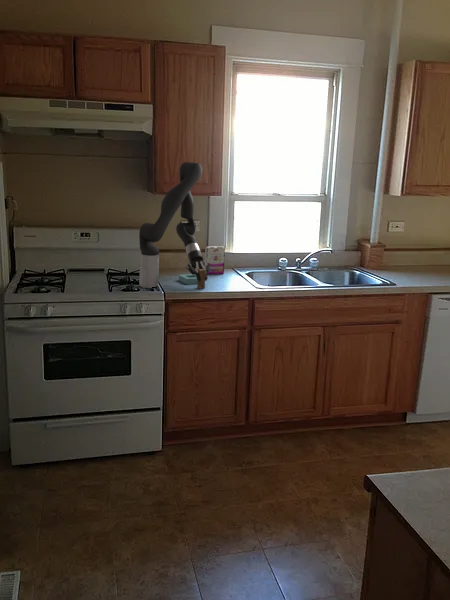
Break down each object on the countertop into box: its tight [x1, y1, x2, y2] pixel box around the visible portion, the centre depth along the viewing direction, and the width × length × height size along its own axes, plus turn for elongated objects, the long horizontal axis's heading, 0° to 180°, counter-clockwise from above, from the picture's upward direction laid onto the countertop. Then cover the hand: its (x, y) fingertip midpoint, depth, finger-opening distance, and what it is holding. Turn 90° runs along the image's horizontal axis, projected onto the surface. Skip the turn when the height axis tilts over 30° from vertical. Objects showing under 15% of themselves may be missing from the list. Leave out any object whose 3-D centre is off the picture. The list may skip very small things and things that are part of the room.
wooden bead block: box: [178, 273, 198, 285], centre depth 316 cm, size 11×11×3 cm
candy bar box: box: [204, 245, 226, 275], centre depth 339 cm, size 11×5×16 cm, turn 105°
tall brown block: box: [196, 269, 206, 290], centre depth 300 cm, size 3×3×10 cm
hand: (203, 280), depth 299 cm, fingers closed on tall brown block, 3 cm apart
